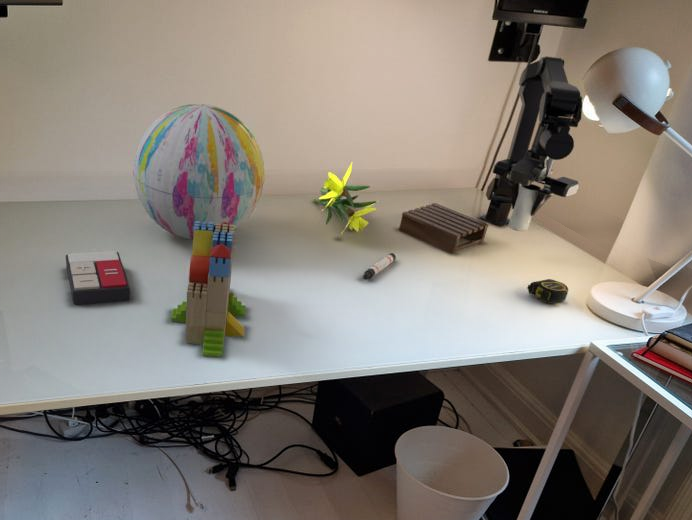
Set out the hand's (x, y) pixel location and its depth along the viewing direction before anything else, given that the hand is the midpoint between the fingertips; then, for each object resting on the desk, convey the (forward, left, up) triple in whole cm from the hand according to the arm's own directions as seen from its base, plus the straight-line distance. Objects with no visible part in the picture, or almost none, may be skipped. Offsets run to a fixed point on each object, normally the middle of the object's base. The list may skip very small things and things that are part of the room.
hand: (522, 212), depth 156 cm
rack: (+6, -16, -11) cm, 21 cm away
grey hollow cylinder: (0, 0, -4) cm, 4 cm away
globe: (+61, -49, -12) cm, 79 cm away
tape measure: (+14, +17, -12) cm, 25 cm away
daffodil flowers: (+25, -38, -12) cm, 47 cm away
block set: (+82, -17, -12) cm, 84 cm away
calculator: (+94, -39, -12) cm, 102 cm away
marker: (+37, -12, -12) cm, 40 cm away
